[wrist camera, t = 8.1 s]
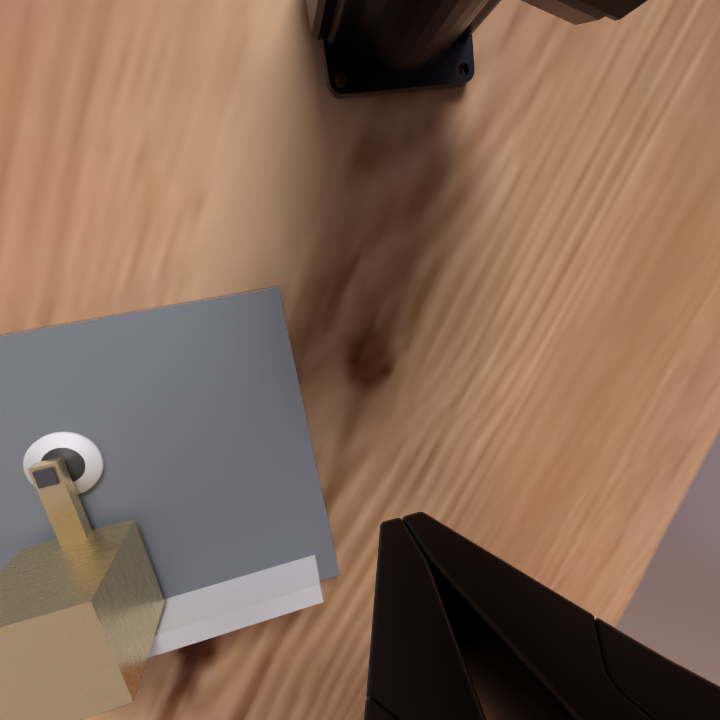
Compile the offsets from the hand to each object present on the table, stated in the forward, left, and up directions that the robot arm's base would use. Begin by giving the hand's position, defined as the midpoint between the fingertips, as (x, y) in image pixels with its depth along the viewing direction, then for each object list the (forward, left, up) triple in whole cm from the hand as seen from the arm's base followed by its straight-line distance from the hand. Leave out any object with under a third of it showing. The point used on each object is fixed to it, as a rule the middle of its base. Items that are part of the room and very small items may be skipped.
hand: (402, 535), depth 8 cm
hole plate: (+13, +3, -13) cm, 18 cm away
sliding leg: (+11, +5, -10) cm, 16 cm away
